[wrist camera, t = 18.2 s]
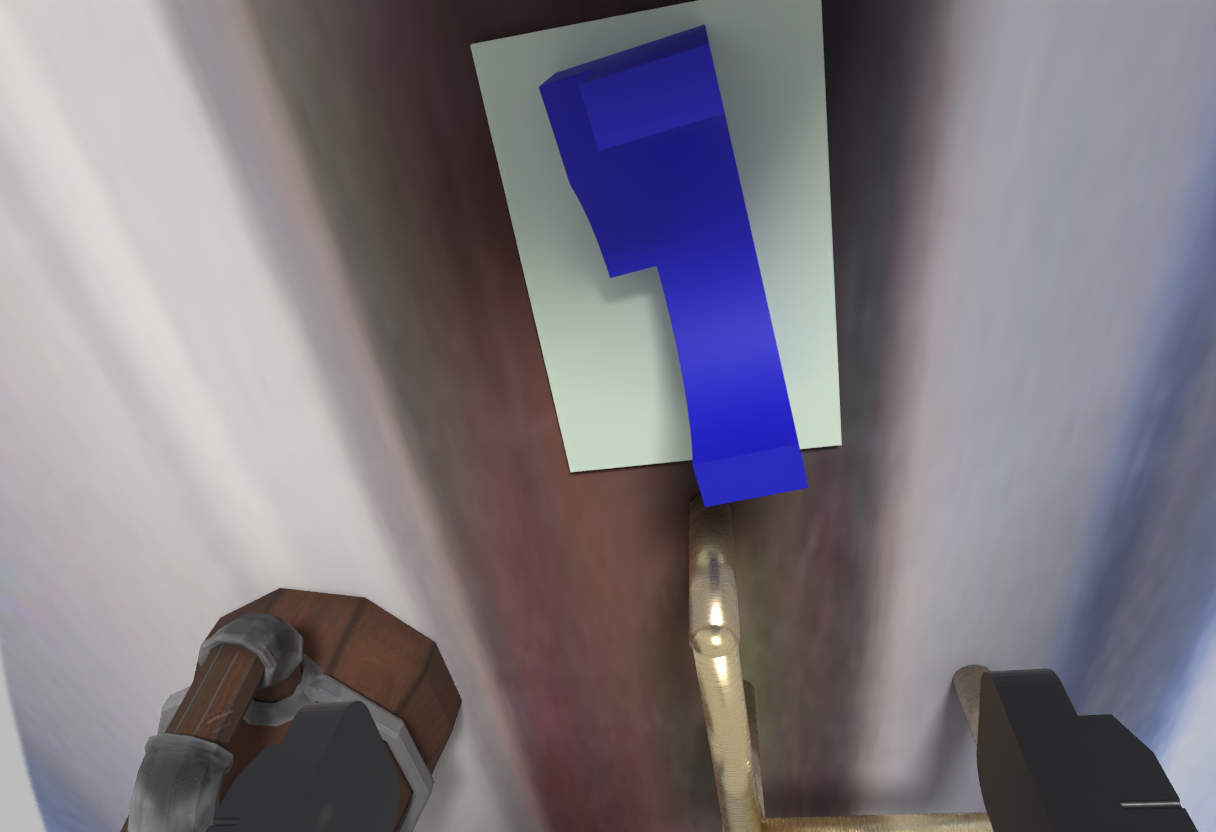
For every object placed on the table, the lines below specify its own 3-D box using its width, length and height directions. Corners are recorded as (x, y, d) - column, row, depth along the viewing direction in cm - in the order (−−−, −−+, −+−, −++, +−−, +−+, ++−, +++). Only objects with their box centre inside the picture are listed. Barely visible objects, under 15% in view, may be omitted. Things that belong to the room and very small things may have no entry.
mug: (464, 776, 41) (357, 1159, 28) (230, 746, 41) (18, 1109, 28) (459, 528, 33) (307, 898, 20) (171, 495, 34) (-160, 835, 20)
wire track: (1007, 464, 29) (1101, 613, 23) (991, 691, 35) (1063, 865, 28) (686, 494, 31) (685, 640, 24) (719, 705, 37) (725, 871, 30)
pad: (818, -24, 22) (820, -23, 22) (840, 440, 29) (841, 444, 29) (472, 43, 24) (470, 44, 24) (571, 468, 31) (570, 472, 31)
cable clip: (555, 73, 24) (517, 104, 19) (705, 24, 23) (708, 43, 18) (662, 417, 29) (655, 516, 24) (787, 389, 28) (808, 487, 23)
